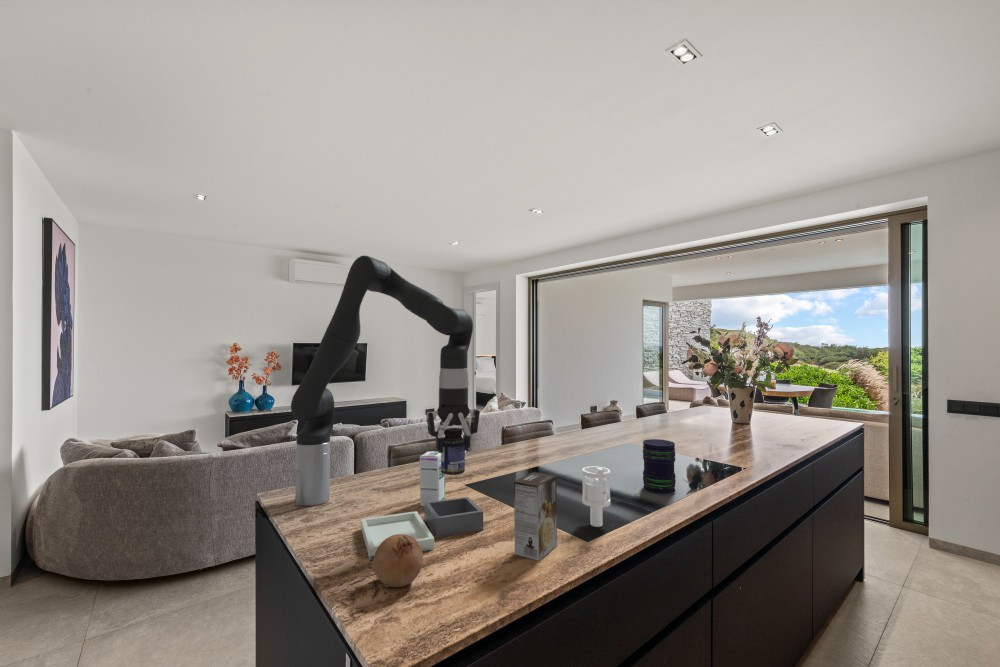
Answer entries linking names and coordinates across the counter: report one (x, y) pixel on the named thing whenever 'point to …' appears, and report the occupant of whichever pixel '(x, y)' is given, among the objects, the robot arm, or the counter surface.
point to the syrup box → (431, 478)
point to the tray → (395, 530)
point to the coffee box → (535, 515)
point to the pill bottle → (453, 452)
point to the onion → (398, 560)
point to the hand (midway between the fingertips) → (452, 451)
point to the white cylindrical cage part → (596, 492)
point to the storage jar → (659, 466)
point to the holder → (453, 516)
